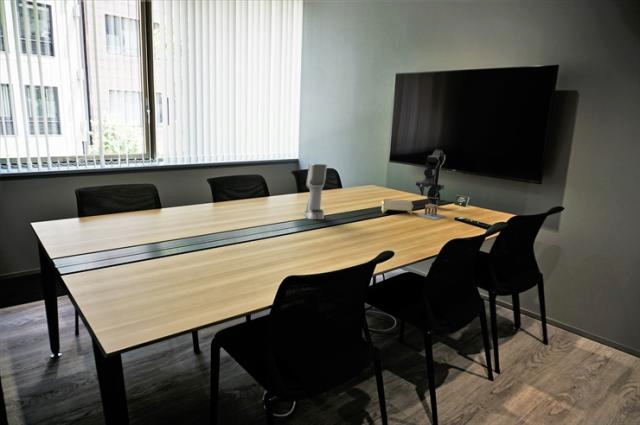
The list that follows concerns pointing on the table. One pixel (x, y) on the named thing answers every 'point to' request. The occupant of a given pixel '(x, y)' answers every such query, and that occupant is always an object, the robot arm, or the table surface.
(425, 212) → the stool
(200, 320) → the table surface
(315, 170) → the thermal camera
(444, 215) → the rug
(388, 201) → the toy sofa
